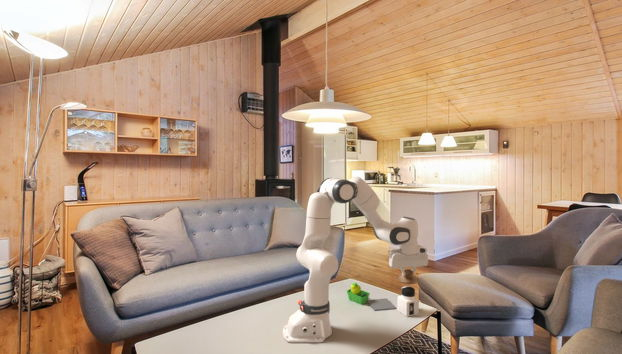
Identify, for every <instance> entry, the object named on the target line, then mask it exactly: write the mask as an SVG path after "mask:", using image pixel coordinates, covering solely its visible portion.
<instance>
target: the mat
mask: <svg viewBox="0 0 622 354" xmlns="http://www.w3.org/2000/svg"><path fill="white" fill-rule="evenodd" d="M366 303H367V304H368V305H369V306H370V307H371V308H372V310H374V312H376V311H387V310H388V311H389V310H396V309H397V306H395V305H394V304H393V303H392V302H391V301H390V300H389V299H388V298H387V297H386V298H375V299H374V298H373V299H368V301H367V302H366Z"/></svg>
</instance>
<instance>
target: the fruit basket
mask: <svg viewBox="0 0 622 354" xmlns="http://www.w3.org/2000/svg"><path fill="white" fill-rule="evenodd" d="M346 294H347V296H348V297H347V298H348V300H349V301H352V302H354V303H355V304H358V305H361V306H362V305H364V304H366V303H368V302H367V301H368V300H369V296H370V292H368V291H366V290H362V288H361V286H360V285H359V284H357V282H352V283H351V285H350V289H347V290H346Z"/></svg>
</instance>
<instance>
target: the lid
mask: <svg viewBox="0 0 622 354" xmlns="http://www.w3.org/2000/svg"><path fill="white" fill-rule="evenodd" d="M412 270H413V269H410V268H407V269H405V268H404V272H406V276H403V275H402V274H400V275H398V277H397V279H398V282H399V283H402V284H406V285H415V284H418V283H419V277H418V276H417V275H413V271H412Z"/></svg>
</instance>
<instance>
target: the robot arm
mask: <svg viewBox="0 0 622 354" xmlns="http://www.w3.org/2000/svg"><path fill="white" fill-rule="evenodd" d="M351 201H352V202H353V204H354V205H355V206H356V208H357V209H358V210H359V211H360V212H361V213H362V214H363V216H364V217H365V219H366V220H367V222H368V223H369V224H370V226H371V228H372V230H373V232H374V236H375V237H376V238H377V240H378V241H383V242H386V243H388V244H391V245H395V246H399V249H392V250H390V251H389V256H388V257H389V259H388V265H389V267H390V268H391V269H400V272H401V275H403V276H406V272H404V269H405V268H407V269H408V268H412V269H411V270H412V271H413V276H416V274H415V273H416V271H417V269H418V267H420V268H421V267H427V266H428V265H429V254H428V253H427V252H428V249H427V248H426V247H424V246H422V245H420V244H419V241H418V236H419V226H418V221H417V220H416V219H415V218H413V217H409V216H401V218H400V219H399V220H398V221H397V222H395V223H392V222H388V221H386V220H384V219H383V218H382V217H381V215H380V214H379V213H378V212H377V209H378V207H379V205H380V199H379V196H378V194H377V193H376V192H375V190H374V189H373V188H372V187H371V186H370V184H368V183H367V182H366V181H365V180H364V179H362V177H361V176H353V177H350V178H349V179H343V178H339V177H328V178H325V179H324V180H322V182H321V183H320V185H319V186H318V189H317V190H316V192H314V193H312V194H311V195H310V196H309V199H308V203H307V208H306V219H305V232H304V237H303V240H302V243H301V244H300V246H298V248H297V250H296V253H295V254H296V259H297V261H298V263H299V264H300V265H301V266H302V267H305V268H306V269H308V271H309V276H308V277H309V278H308V280H306V282H304V284H303V286H304V289H303V290H304V291H303V292H304V293H303V294H304V298H303V301H302V299H298V300H297V304H298V306H299V308H298V310H296V311H295V312H293V313H292V314H291V315H290V316H289V318H288V321H287V324H285V325H284V326H283V328H282V336H283V339H284V340H285V341H286V342H288V343H295V344H296V343H323V342H324V341H325V340H326V339H327V338H328V337H330V336H331V335H332V333H333V329H332V325H331V320H330V311H331V308H330V307H331V305H330V300H329V298H330V297H329V290H330V289H329V287H330V282H331V278H332V277H333V276H334V275H336V273H337V271H338V269H339V260H338V258H337V257H336V256H335V255H334V254H333V253H332V252H330V251H329V250H326V249H324V244H325V241H326V240H327V238H328V237H329V236H330V234H331V222H332V221H331V220H332V219H331V218H332V207H333V205H334V204H336V203H337V204H338V203H339V204H348V203H349V202H351Z"/></svg>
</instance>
